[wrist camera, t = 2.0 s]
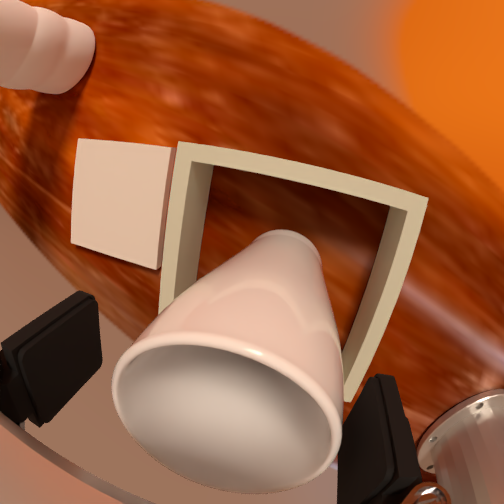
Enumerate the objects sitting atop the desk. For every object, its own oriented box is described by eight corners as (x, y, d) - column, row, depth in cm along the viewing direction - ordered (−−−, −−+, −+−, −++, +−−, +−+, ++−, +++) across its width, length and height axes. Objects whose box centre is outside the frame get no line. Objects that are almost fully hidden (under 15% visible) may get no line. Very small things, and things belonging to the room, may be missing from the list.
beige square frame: (408, 191, 18) (428, 198, 14) (348, 368, 22) (350, 402, 19) (203, 144, 20) (178, 141, 16) (179, 323, 24) (157, 349, 21)
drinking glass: (239, 309, 23) (143, 473, 9) (231, 218, 21) (78, 317, 7) (331, 310, 21) (330, 503, 7) (332, 215, 20) (362, 338, 6)
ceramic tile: (176, 148, 21) (171, 147, 20) (161, 266, 23) (156, 269, 23) (84, 138, 22) (78, 138, 21) (76, 240, 25) (71, 242, 24)
